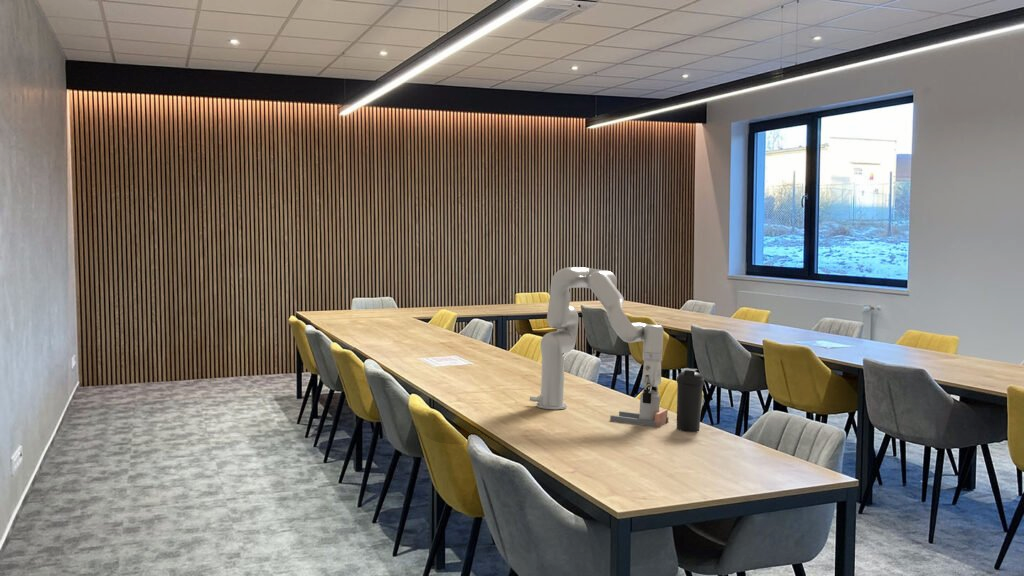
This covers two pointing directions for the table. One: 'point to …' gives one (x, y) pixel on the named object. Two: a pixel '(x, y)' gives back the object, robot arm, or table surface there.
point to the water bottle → (689, 400)
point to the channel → (634, 419)
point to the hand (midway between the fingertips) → (649, 401)
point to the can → (649, 406)
